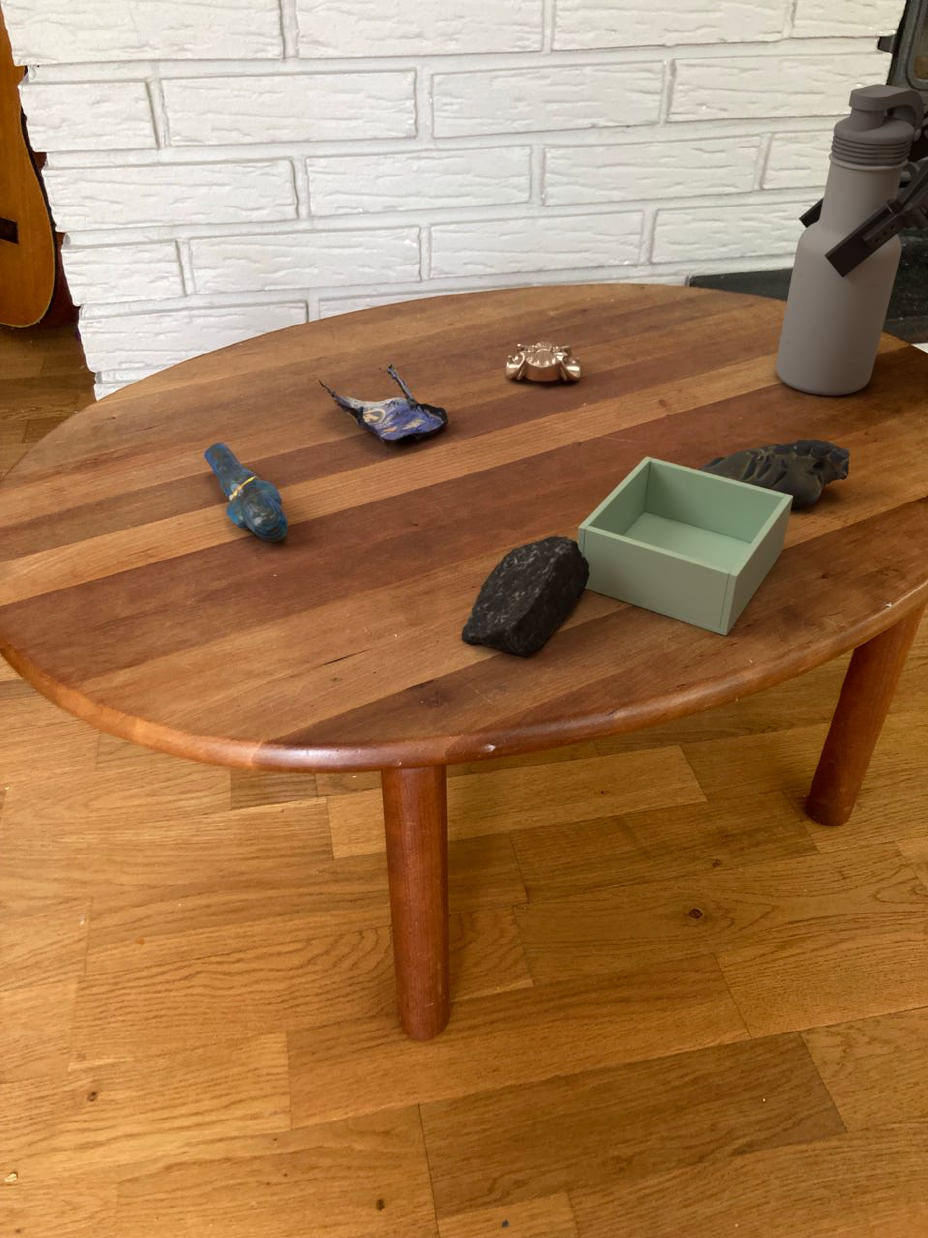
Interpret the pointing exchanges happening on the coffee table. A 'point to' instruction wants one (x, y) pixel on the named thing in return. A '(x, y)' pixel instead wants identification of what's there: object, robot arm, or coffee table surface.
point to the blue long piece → (248, 495)
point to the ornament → (543, 363)
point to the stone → (786, 468)
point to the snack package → (393, 414)
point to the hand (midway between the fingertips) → (819, 246)
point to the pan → (684, 542)
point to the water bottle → (856, 189)
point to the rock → (528, 595)
